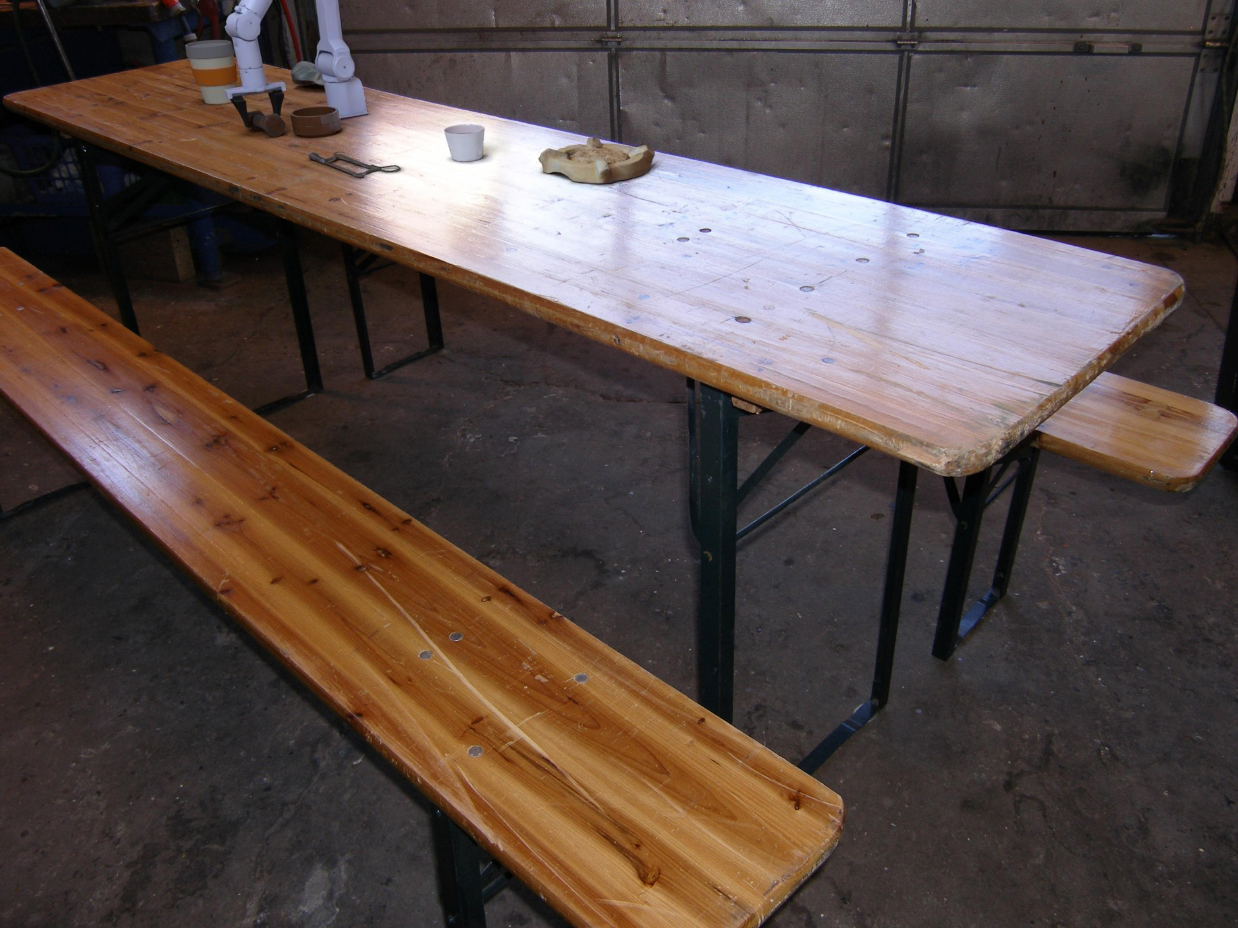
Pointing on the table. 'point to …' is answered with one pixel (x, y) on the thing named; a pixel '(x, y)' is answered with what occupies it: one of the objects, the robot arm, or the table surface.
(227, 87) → the reusable coffee cup
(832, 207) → the table surface
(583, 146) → the ashtray
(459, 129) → the white tapered cup
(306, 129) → the bowl
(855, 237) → the table surface
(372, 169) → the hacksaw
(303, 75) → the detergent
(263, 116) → the bolt
